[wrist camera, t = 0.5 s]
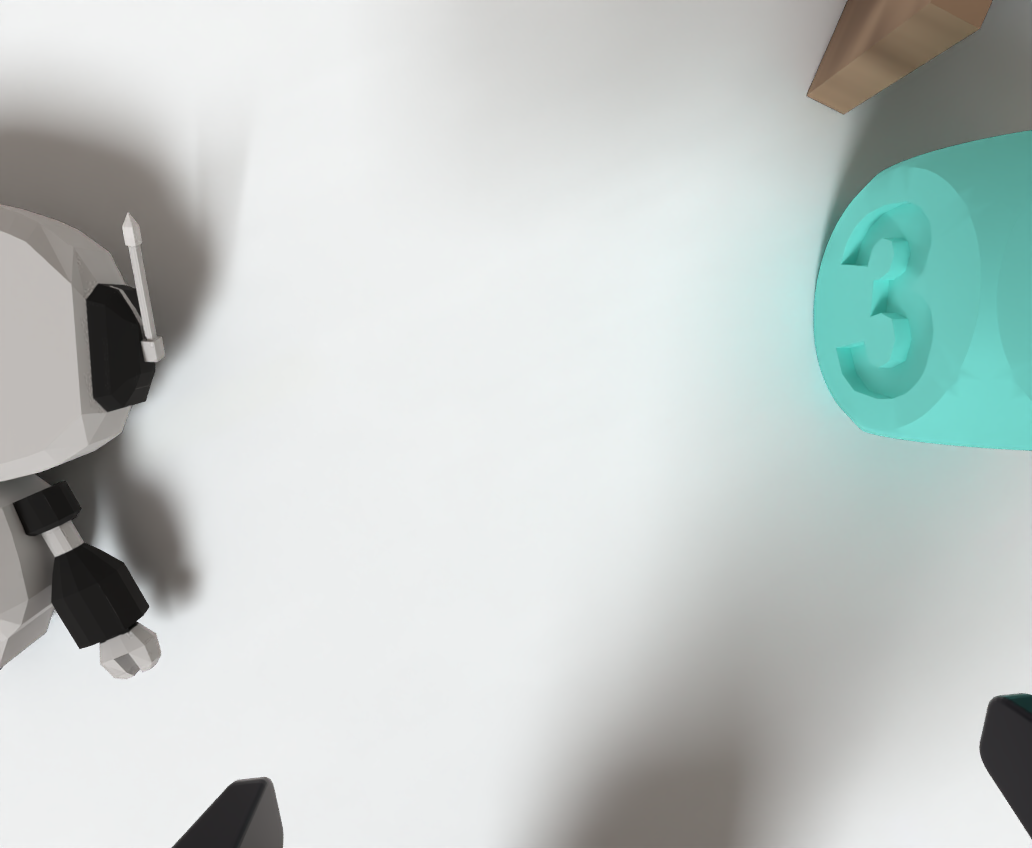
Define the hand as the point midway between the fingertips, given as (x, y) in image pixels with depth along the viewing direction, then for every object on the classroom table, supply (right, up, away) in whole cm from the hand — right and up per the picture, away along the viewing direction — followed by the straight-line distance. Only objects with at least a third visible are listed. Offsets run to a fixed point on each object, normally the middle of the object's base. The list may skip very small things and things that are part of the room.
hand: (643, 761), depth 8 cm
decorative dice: (+13, +8, +16) cm, 22 cm away
